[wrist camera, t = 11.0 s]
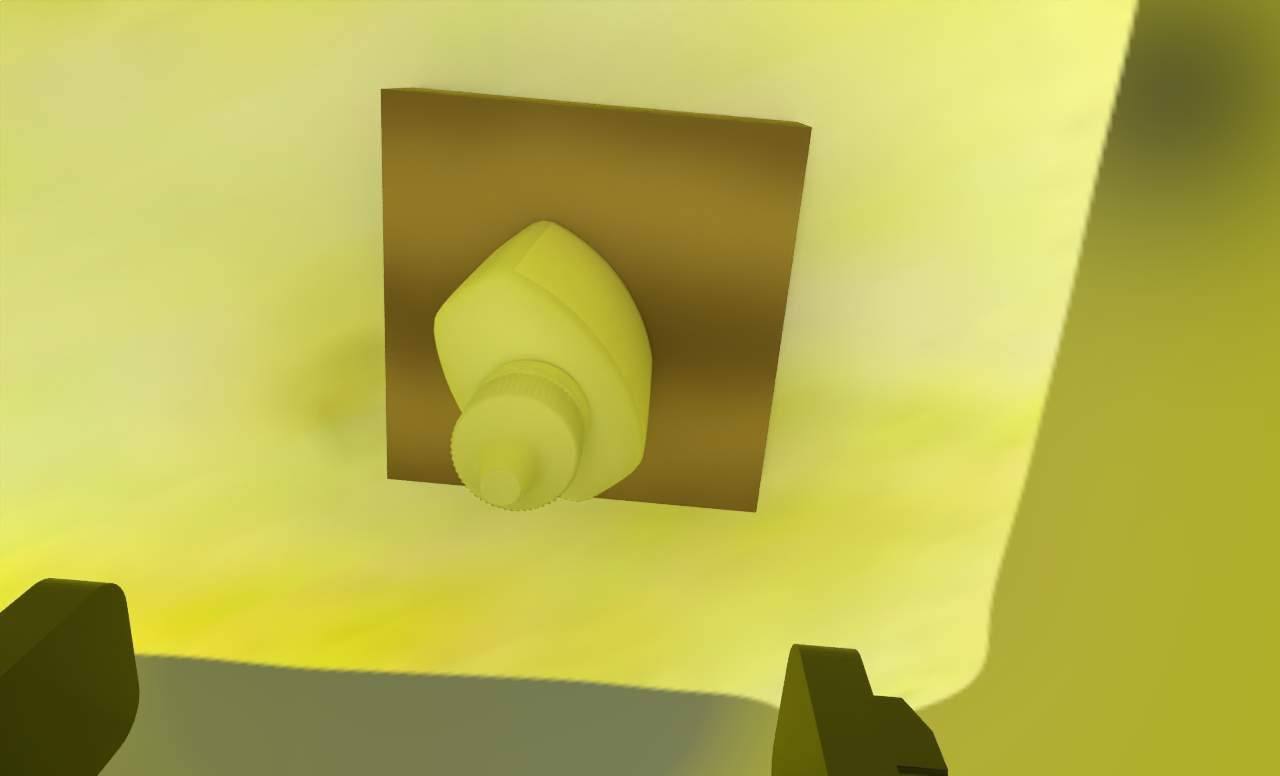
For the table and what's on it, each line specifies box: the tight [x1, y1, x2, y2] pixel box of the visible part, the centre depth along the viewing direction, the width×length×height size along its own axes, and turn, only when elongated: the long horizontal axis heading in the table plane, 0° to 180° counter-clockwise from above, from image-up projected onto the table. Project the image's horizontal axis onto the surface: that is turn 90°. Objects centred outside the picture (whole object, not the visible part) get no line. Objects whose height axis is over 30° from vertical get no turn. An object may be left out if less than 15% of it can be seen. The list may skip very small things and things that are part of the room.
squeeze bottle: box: [434, 220, 652, 511], centre depth 20 cm, size 4×6×12 cm
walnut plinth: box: [381, 88, 812, 512], centre depth 28 cm, size 12×12×3 cm
